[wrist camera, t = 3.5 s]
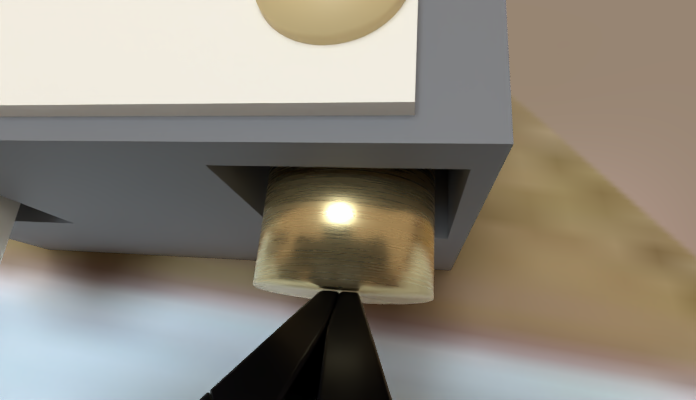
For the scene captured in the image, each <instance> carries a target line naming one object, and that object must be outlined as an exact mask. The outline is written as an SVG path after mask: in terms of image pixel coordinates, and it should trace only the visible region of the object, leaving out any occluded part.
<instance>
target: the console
mask: <svg viewBox="0 0 696 400" xmlns="http://www.w3.org/2000/svg"><path fill="white" fill-rule="evenodd" d="M512 146H513V128H512V109H511V90H510V71H509V53H508V34H507V15H506V0H0V196H3V197H6V198H8V199H11V200H13V201H16V202H19V203H21V204H20V207H19V210H18V213H17V216H16V219H15V222H14V225H13V228H12V231H11V233H10V236H9V239H13V240H16V241H20V242H23V243H27V244H31V245H34V246H38V247H41V248H45V249H49V250H68V251H87V252H107V253H126V254H145V255H164V256H184V257H203V258H222V259H242V260H257V253H258V246H259V239H260V233H261V226H262V219H263V212H264V205H265V199H266V192H267V185H268V178H269V172H270V166H290V167H353V168H416V169H435V229H434V269H435V270H451V268H452V266H453V264H454V262H455V260H456V258H457V256H458V254H459V252H460V250H461V248H462V246H463V244H464V242H465V240H466V238H467V236H468V234H469V232H470V230H471V228H472V226H473V224H474V222H475V220H476V218H477V216H478V214H479V212H480V210H481V208H482V206H483V204H484V202H485V200H486V198H487V196H488V194H489V192H490V190H491V188H492V186H493V184H494V182H495V180H496V178H497V176H498V174H499V172H500V170H501V168H502V166H503V164H504V162H505V160H506V158H507V156H508V154H509V152H510V150H511V148H512Z"/></svg>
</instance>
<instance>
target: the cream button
mask: <svg viewBox="0 0 696 400" xmlns="http://www.w3.org/2000/svg"><path fill="white" fill-rule="evenodd" d="M20 204H21V203H19V202H16V201H13V200H11V199H8V198H6V197H3V196H0V263H1V260H2V257H3V254H4V251H5V248H6V245H7V242H8V239H9V236H10V233H11V231H12V228H13V225H14V222H15V219H16V216H17V213H18V210H19V207H20Z"/></svg>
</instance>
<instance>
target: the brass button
mask: <svg viewBox="0 0 696 400" xmlns="http://www.w3.org/2000/svg"><path fill="white" fill-rule="evenodd" d="M434 229H435V169H416V168H353V167H290V166H270V172H269V178H268V185H267V192H266V199H265V205H264V212H263V219H262V226H261V233H260V239H259V246H258V253H257V260H256V267H255V273H254V280H253V285H254V286H255V287H257V288H259V289H262V290H265V291H269V292H273V293H278V294H283V295H289V296H295V297H302V298H310V299H311V298H313V297H314V296H315V295H316V294H317V293H318V292H319V291H321V290H327V291H337V292H339V294H340V293H341V292H357V293H358V294H359V296H360V299H361V302H362V303H369V304H415V303H424V302H429V301H432V300H433V299H434Z"/></svg>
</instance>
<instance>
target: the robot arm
mask: <svg viewBox="0 0 696 400" xmlns="http://www.w3.org/2000/svg"><path fill="white" fill-rule="evenodd" d="M200 400H392V398H391V395H390V392H389V389H388V385H387V382H386V379H385V376H384V372H383V369H382V366H381V363H380V360H379V356H378V353H377V350H376V347H375V344H374V340H373V337H372V334H371V331H370V328H369V324H368V321H367V318H366V315H365V312H364V308H363V305H362V302H361V299H360V296H359V294H358V293H357V292H341V293H340V294H339V292H337V291H327V290H321V291H319V292H318V293H317V294H316V295H315V296H314V297H313V298H311V299H310V300H309V301H308V302H307V303H306V304H305V305H304V306H303V307H301V308H300V309H299V310H298V311H297V312H296V313H295V314H294V315H293V316H292V317H290V318H289V319H288V320H287V321H286V322H285V323H284V324H283V325H282V326H281V327H279V328H278V329H277V330H276V331H275V332H274V333H273V334H272V335H271V336H269V337H268V338H267V339H266V340H265V341H264V342H263V343H262V344H261V345H260V346H258V347H257V348H256V349H255V350H254V351H253V352H252V353H251V354H250V355H248V356H247V357H246V358H245V359H244V360H243V361H242V362H241V363H240V364H239V365H237V366H236V367H235V368H234V369H233V370H232V371H231V372H230V373H229V374H228V375H226V376H225V377H224V378H223V379H222V380H221V381H220V382H219V383H218V384H216V385H215V386H214V387H213V388H212V389H211V390H210V393H206V394H205V395H204V396H203V397H202V398H201V399H200Z"/></svg>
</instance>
